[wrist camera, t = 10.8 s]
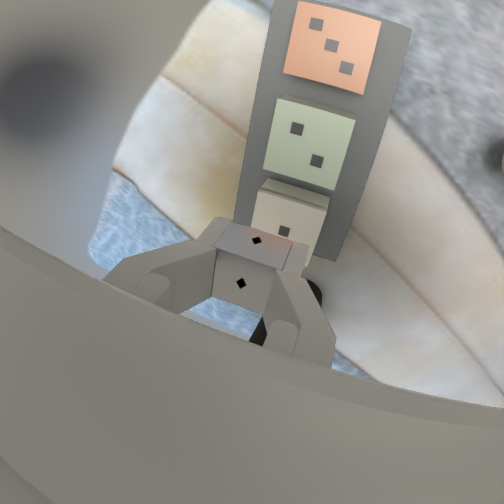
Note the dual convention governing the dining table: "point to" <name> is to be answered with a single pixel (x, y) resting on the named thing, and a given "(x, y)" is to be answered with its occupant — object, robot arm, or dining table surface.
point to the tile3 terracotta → (331, 46)
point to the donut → (503, 163)
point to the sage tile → (308, 141)
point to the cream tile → (290, 213)
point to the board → (363, 106)
